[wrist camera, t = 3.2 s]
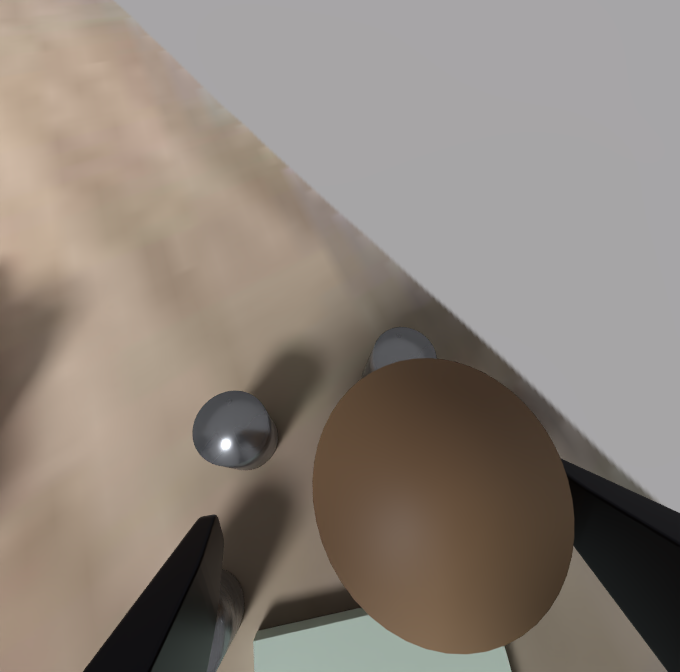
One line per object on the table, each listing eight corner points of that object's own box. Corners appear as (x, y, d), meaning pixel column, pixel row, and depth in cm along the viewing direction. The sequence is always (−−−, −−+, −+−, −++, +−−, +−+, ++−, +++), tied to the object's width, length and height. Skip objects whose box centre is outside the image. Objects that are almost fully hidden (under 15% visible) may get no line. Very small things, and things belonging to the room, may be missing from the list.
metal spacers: (531, 508, 16) (593, 515, 13) (259, 825, 11) (234, 986, 8) (368, 324, 20) (380, 288, 16) (111, 499, 15) (47, 504, 11)
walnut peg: (408, 491, 16) (624, 506, 5) (346, 549, 15) (447, 749, 4) (358, 426, 17) (441, 319, 6) (297, 476, 16) (259, 454, 5)
